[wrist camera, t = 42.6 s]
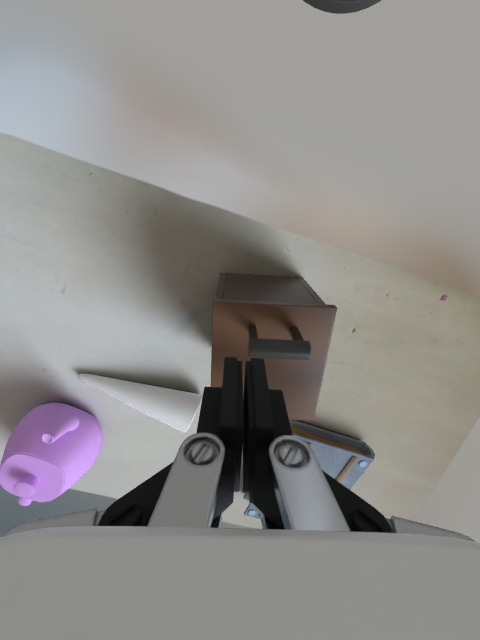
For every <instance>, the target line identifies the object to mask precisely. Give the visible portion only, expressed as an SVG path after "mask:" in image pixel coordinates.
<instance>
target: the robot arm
mask: <svg viewBox="0 0 480 640" xmlns="http://www.w3.org/2000/svg"><path fill="white" fill-rule="evenodd" d="M242 444H243V491H244V492H249V502H252V503H253V504H254V505H255V506H256V507H257V508H258V509H259V510H260V511H261V522H262V526H263V529H241V528H240V529H239V528H220V526H221V521H222V512H223V511H224V510H225V509H227V508H228V507H229V506H230V505H231V504H232V503H233V495H234V491H235V492H239V483H240V470H241V457H242ZM0 640H480V543H478V542H475V541H474V540H472V539H471V538H470V537H468V536H465V535H463V534H460V533H457V532H453V531H449V530H445V529H442V528H438V527H434V526H430V525H426V524H422V523H418V522H414V521H410V520H406V519H403V518H399V517H395V516H392V517H391V519H387V518H385V517H384V516H383V515H382V514H381V513H380V512H379V511H378V510H376V509H375V508H374V507H372V506H371V505H370V504H368V503H367V502H366V501H364V500H363V499H361V498H360V497H359V496H357V495H356V494H355V493H353V492H352V491H350V490H349V489H348V488H346V487H345V486H343V485H342V484H341V483H339V482H338V481H337V480H335V479H334V478H332V477H331V476H330V475H328V474H327V473H326V472H324V471H323V470H322V469H321V467H320V465H319V463H318V461H317V458H316V456H315V454H314V452H313V450H312V449H311V447H310V446H309V445H308V444H307V443H306V442H305V441H304V440H302V439H300V438H298V437H295V436H293V435H292V431H291V426H290V422H289V418H288V413H287V409H286V404H285V400H284V396H283V392H282V390H275V389H269V388H268V382H267V376H266V369H265V363H264V359H263V358H251V361H246V365H245V379H244V393H243V379H242V361H237V357H225V359H224V371H223V384H222V387H205V388H204V393H203V399H202V404H201V410H200V416H199V422H198V428H197V434H193V435H191V436H189V437H188V438H187V439H185V440H184V441H183V443H182V444H181V446H180V448H179V451H178V453H177V456H176V458H175V460H174V462H173V463H171V464H170V465H168V466H167V467H165V468H164V469H162V470H161V471H159V472H158V473H156V474H155V475H153V476H152V477H151V478H149V479H148V480H146V481H145V482H143V483H142V484H140V485H139V486H137V487H136V488H134V489H133V490H132V491H130V492H129V493H127V494H126V495H124V496H123V497H121V498H120V499H118V500H117V501H115V502H114V503H113V504H112V505H111V506H110V507H108V508H107V510H104V511H100V512H97V508H94V509H89V510H84V511H79V512H74V513H69V514H64V515H59V516H54V517H49V518H43V519H38V520H34V521H29V522H25V523H22V524H19V525H16V526H14V527H12V528H11V529H9V530H8V531H6V532H4V533H3V534H2V535H1V536H0Z"/></svg>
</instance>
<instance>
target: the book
mask: <svg viewBox="0 0 480 640" xmlns="http://www.w3.org/2000/svg"><path fill="white" fill-rule="evenodd" d="M289 422H290V426H291V431H292V435H293V436H295V437H298V438H300V439H302V440H304V441H305V442H306V443H307V444H308V445H309V446H310V447H311V449H312V450H313V452H314V454H315V456H316V458H317V461H318V463H319V465H320V467H321V469H322V470H323V471H324V472H326V473H327V474H328V475H330V476H331V477H332V478H334V479H335V480H337V481H338V482H339V483H341V484H342V485H343V486H345V487H346V488H348V489H349V490H350V489H351V488H352V486H353V485H354V484H355V483H356V481H357V480H358V479H359V477H360V476H361V475H362V474H363V472H364V471H365V470H366V469H367V467H368V466H369V465H370V463H371V462H372V461H373V460H374V456H375V454H374V452H373V450H372V449H371V448H370V447H369V446H368V445H367V444H366V443H365V442H363V441H360V440H356V439H353V438H350V437H347V436H344V435H340V434H337V433H334V432H331V431H328V430H325V429H321V428H318V427H315V426H312V425H309V424H305V423H302V422H299V421H296V420H289ZM244 499H247V500H249V492H246V493H245V495H244ZM244 515H247V516H251V517H255V518H259V519H261V511H260V510H259V509H258V508H257V507H256V506H255V505H254V504H253V503H252V502H250V504H249V506H248V507H247V509H246V511H245V512H244Z"/></svg>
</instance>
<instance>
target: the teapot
mask: <svg viewBox="0 0 480 640" xmlns="http://www.w3.org/2000/svg"><path fill="white" fill-rule="evenodd" d="M101 446H102V431H101V427H100V424H99V422H98V421H97V419H96V418H95V417H93V416H92V415H90V414H89V413H87V412H85V411H83V410H80V409H78V408H75V407H73V406H70V405H66V404H62V403H56V402H55V403H47V404H42V405H39V406H37V407H35V408H33V409H32V410H31V411H29V412H28V413H27V414H26V415H25V416H24V417H23V418H22V420H21V421H20V422H19V423H18V425H17V426H16V428H15V429H14V431H13V433H12V434H11V436H10V438H9V440H8V442H7V445H6V447H5V450H4V454H3V457H2V461H1V465H0V483H1V485H2V487H3V488H4V489H5V490H7V491H8V492H10V493H12V494H14V495H17V496H20V497H19V499H18V503H19V504H20V505H23V506H28V505H30V504H31V502H32V501H38V502H48V501H51V500H53V499H55V498H56V497H58V496H59V495H61V494H62V493H63V492H65V491H66V490H67V489H69V488H70V487H71V486H72V485H73V484H75V483H76V482H77V481H78V480H79V479H80V478H81V477H82V476H83V475H84V474H85V473H86V472H87V471H88V470H89V468H90V467H91V466H92V465H93V463H94V462H95V460H96V458H97V457H98V455H99V453H100V450H101Z"/></svg>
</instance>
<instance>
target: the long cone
mask: <svg viewBox="0 0 480 640" xmlns="http://www.w3.org/2000/svg"><path fill="white" fill-rule="evenodd" d="M77 377H78V379H79V380H81V381H82V382H84V383H86V384H87V385H90V386H92V387H94V388H96V389H98V390H100V391H102V392H104V393H106V394H109V395H111V396H113V397H115V398H117V399H119V400H121V401H120V402H122V403H124V404H126V405H128V406H130V407H132V408H134V409H136V410H138V411H140V412H142V413H145V414H147V415H149V416H151V417H153V418H155V419H157V420H159V421H161V422H163V423H165V424H167V425H169V426H171V427H173V428H175V429H177V430H179V431H181V432H183V433H186V431H187V430H188V429H189V427H190V425H191V423H192V420H193V418H194V416H195V414H196V412H197V409H198V407H199V404H200V402H201V399H202V396H203V395H201V394H195V393H190V392H185V391H179V390H173V389H168V388H163V387H157V386H152V385H146V384H141V383H135V382H130V381H125V380H119V379H114V378H109V377H103V376H97V375H91V374H79V375H78V376H77Z"/></svg>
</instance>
